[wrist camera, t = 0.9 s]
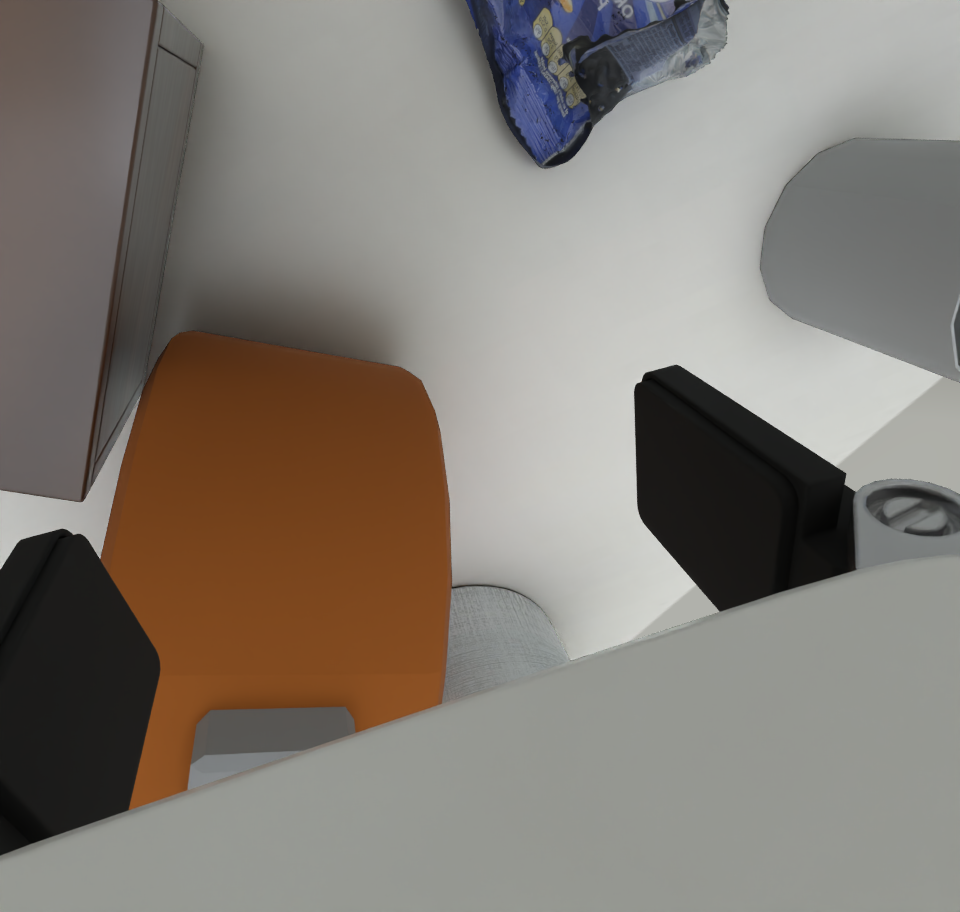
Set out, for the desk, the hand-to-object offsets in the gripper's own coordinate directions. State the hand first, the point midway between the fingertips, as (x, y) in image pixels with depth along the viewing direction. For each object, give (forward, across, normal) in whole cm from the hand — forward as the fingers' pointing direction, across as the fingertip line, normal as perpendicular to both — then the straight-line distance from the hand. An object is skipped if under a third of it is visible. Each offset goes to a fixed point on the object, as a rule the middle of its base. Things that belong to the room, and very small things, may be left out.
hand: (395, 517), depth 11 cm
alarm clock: (+17, +7, +12) cm, 21 cm away
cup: (+17, -24, +3) cm, 30 cm away
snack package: (+17, -12, -8) cm, 23 cm away
